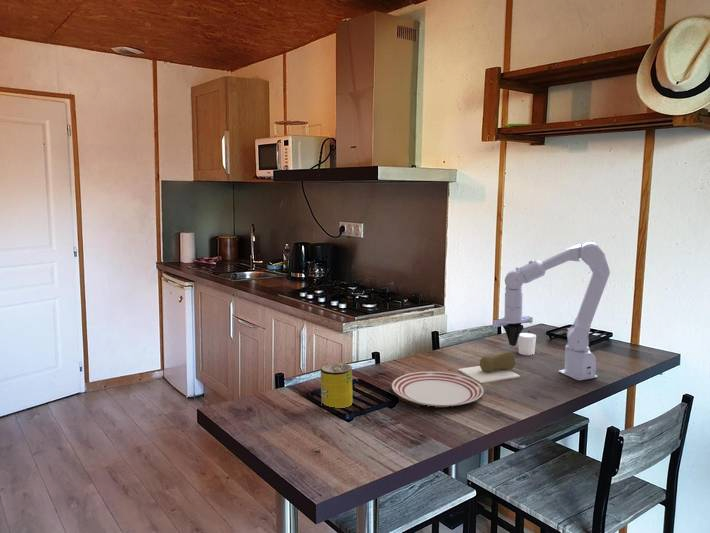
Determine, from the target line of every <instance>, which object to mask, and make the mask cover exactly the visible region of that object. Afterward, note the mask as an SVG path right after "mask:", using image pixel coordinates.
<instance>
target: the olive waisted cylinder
mask: <svg viewBox="0 0 710 533" xmlns="http://www.w3.org/2000/svg"><path fill="white" fill-rule="evenodd" d="M479 366H480V367H481V369H482V371H484V372H490V371H492V370H498V369H508V370H512V369H514V368H515V366H516V359H515V356H514V355H513V353H512V352H511V351H509V350H508V351H505V352H501V353H498V354H496V355H493V356H491V357H489V356H483V357H481V358H480V360H479Z"/></svg>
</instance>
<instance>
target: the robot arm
mask: <svg viewBox="0 0 710 533" xmlns="http://www.w3.org/2000/svg"><path fill="white" fill-rule="evenodd" d="M580 259H581V261H582V262H583V263H585V264H586V265H588V267H589V269H590V271H591V272H592V274H591V277H590V280H589V281H588V282H589V283H588V284H587V285H588V286H587V287H586V291H585V293H584V297H583V299H582V302H581V305H580V307H579V310H578V313H577V315H576V318H575V319H574V321H573V322H572V323H573V324H572V325H571V326H570V327H569V328H568V329H567V331H566V337H567V344H566V345H565V347H564V348H565V351H564V353H565V355H564V369H560V370H558V372H559V373H561V374H563V375H564V376H565V375H566V376H568V377H570V378H571V379H573V380H576V381H585V380H589V379H590V380H591V379H594V378H598V375H597V357H596V355H595V354H593V353H592V352H591V350H590V346H589V343H590V340H589V334H590V333H591V332H590V330H591V326H592V322H593V320H594V316H595V314H596V311H597V309H598V306H599V303H600V301H601V298H602V295H603V293H604V290H605V288H606V285H607V283H608V279H609V277H610V272H611V271H610V270H611V269H610V267H609V264H608V261H607V257H606V254H605V253H604V252H603V250H602V249H601V247H600V246H599V245H598V244H597V242H594V241H591V240H587V241H584V242H582V243H578V244H575V245H572V246H571V247H568V248H566V249H564V250H562V251H560V252H558V253H556V254H554V255H552V256H550V257H548V258H546V259H544V260H543V261H541V260H537V259H535V260H532V259H531V260H529V261H528V263H527V264H525V265H522V266H520V267H519V266H517V267H515V270H511V271H509V272H507V273H506V275H505V278H504V284H505V288H504V289H505V292H504V317H502V318H499V319H495V320H493V321H492V324H493V327H496V328H499V327H502V328H503V329H504V331H505V334H506V337H507V340H508V344H509V346H511V347H516V346H517V344H518V337H519V335H520V333H522V331H523V330H524V325H523V324H528V323H529V324H533V319H534V318H533V317H532V316H530V315H529V316H526V315H525V316H523V291H522V290H523V289H522V288H523V285H524V284H529V283H531V282H533V281H535V280H537V279H539V278H541V277H544V276H545V275H546V273H547V272H546V271H548V270H550V269H553V268H555V267H557V266H559V265H563V264H565V263H567V262H569V261H572V262H580Z"/></svg>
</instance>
